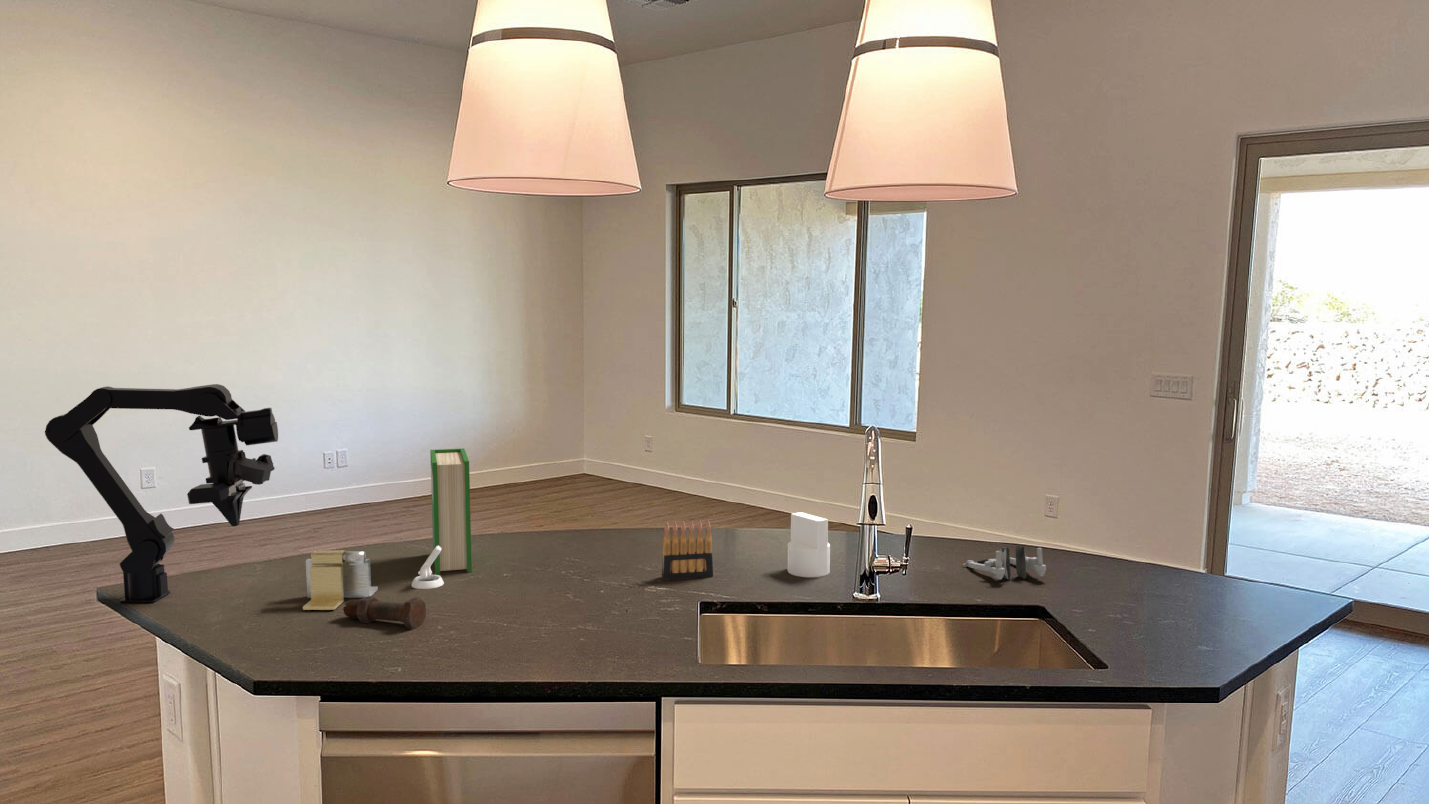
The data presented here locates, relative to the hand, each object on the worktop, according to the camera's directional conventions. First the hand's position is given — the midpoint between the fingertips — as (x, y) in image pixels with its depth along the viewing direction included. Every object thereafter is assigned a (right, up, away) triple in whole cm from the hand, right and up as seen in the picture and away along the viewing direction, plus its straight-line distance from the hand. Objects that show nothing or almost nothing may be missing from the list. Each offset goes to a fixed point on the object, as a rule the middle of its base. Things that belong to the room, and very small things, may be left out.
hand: (235, 525), depth 194 cm
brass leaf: (+21, -14, -7) cm, 26 cm away
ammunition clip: (+89, -13, +13) cm, 91 cm away
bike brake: (+156, -13, +18) cm, 158 cm away
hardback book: (+37, -11, +22) cm, 45 cm away
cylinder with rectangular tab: (+115, -12, +17) cm, 117 cm away
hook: (+36, -13, +7) cm, 39 cm away
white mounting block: (+21, -14, -2) cm, 25 cm away
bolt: (+35, -16, -16) cm, 41 cm away
